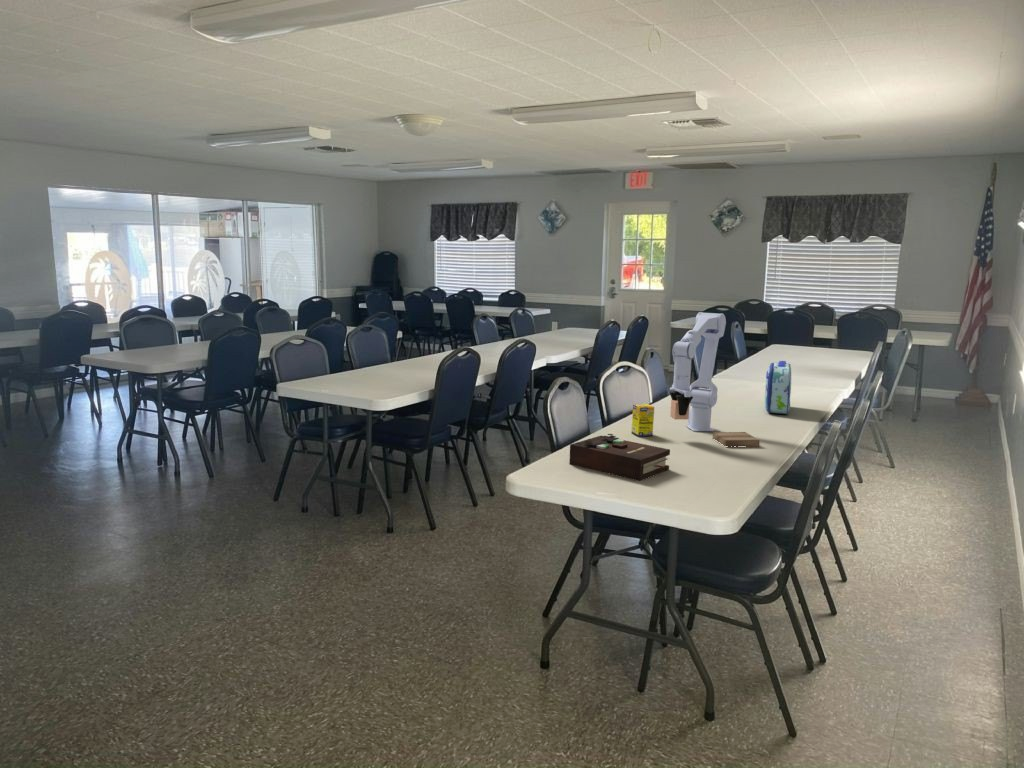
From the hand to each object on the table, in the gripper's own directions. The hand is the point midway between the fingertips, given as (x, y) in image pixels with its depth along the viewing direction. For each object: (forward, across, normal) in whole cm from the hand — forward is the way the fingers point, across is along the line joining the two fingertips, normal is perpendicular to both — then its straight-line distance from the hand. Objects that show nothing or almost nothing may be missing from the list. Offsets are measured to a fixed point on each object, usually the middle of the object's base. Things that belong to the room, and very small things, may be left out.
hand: (679, 413), depth 268 cm
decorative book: (+10, +34, -31) cm, 47 cm away
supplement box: (+10, -7, -11) cm, 16 cm away
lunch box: (+10, -50, +61) cm, 80 cm away
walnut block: (+10, +6, +19) cm, 22 cm away
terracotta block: (+2, 0, 0) cm, 2 cm away
